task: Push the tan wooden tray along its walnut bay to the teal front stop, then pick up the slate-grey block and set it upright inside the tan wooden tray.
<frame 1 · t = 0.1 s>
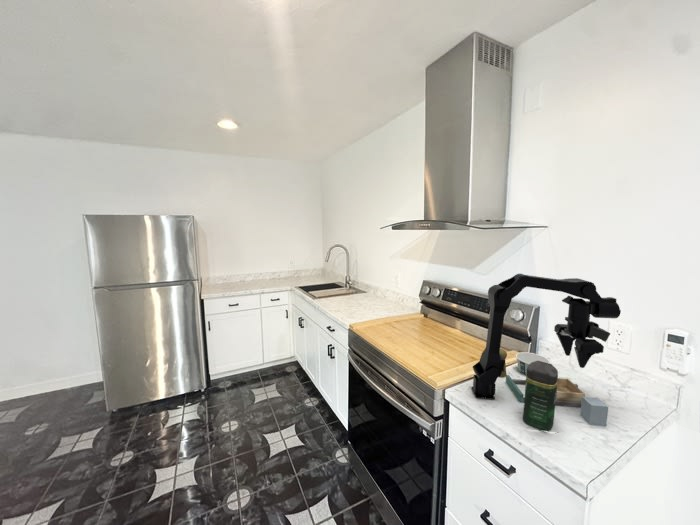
hand: (574, 361, 99), 15 cm above the worktop, tool pointing down, fingers open, 9 cm apart
cork: (498, 375, 118), on the worktop
bay: (546, 396, 103), on the worktop
food container: (531, 373, 120), on the worktop
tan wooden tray: (559, 390, 102), point 3 cm above the worktop, slide at 9.0 cm
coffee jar: (537, 422, 90), on the worktop
block: (592, 422, 90), on the worktop
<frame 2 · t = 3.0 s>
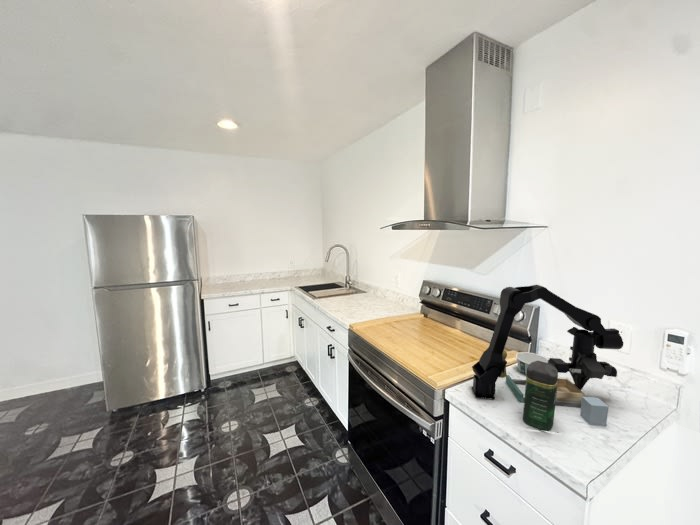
hand: (578, 390, 101), 3 cm above the worktop, tool pointing down, fingers closed
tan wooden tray: (559, 390, 102), point 3 cm above the worktop, slide at 8.9 cm, touching gripper
everything else where it was.
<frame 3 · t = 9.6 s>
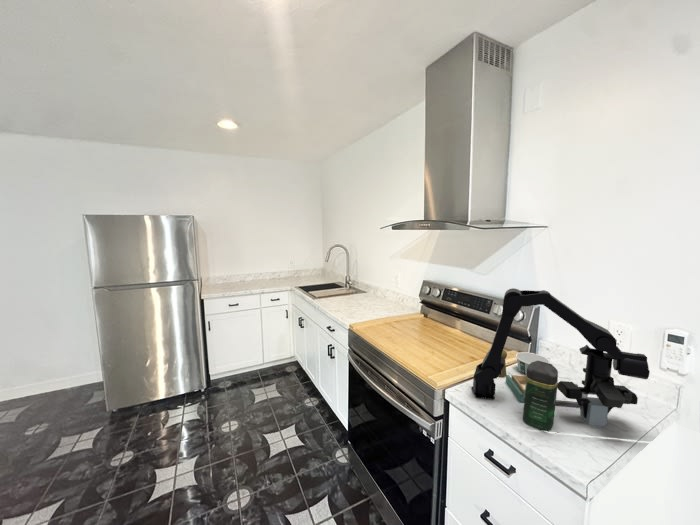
hand: (593, 417, 89), 2 cm above the worktop, tool pointing down, fingers closed on block, 4 cm apart
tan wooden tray: (532, 387, 104), point 3 cm above the worktop, slide at 0.1 cm
block: (592, 422, 90), on the worktop, touching gripper
everything else where it was.
when the fingers open (5 cm above the worktop, at t = 15.9 s): block drops 2 cm, resting on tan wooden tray.
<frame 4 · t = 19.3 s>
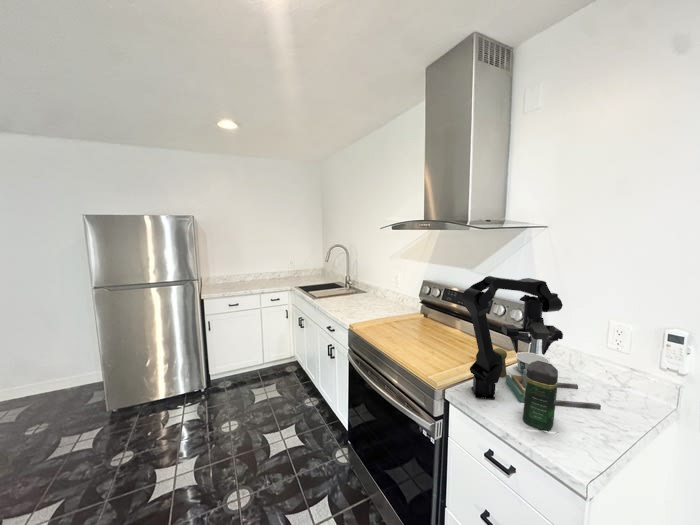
hand: (529, 353, 108), 13 cm above the worktop, tool pointing down, fingers open, 9 cm apart
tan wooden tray: (532, 387, 104), point 3 cm above the worktop, slide at 0.1 cm, touching block
block: (531, 391, 104), point 1 cm above the worktop, touching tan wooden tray
everything else where it was.
at the end: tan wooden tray slide at 0.1 cm; block 0.1 cm off-centre on the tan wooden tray, point 0.8 cm above the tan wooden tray's base; block tilted 0° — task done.
